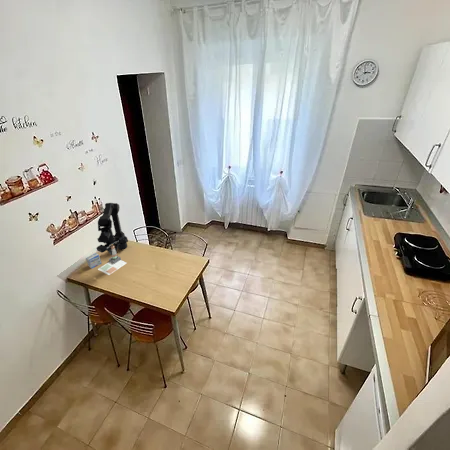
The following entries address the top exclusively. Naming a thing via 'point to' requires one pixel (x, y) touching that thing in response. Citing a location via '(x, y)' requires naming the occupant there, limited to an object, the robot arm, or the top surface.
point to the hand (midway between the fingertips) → (113, 253)
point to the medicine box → (93, 260)
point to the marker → (113, 251)
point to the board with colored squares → (112, 266)
